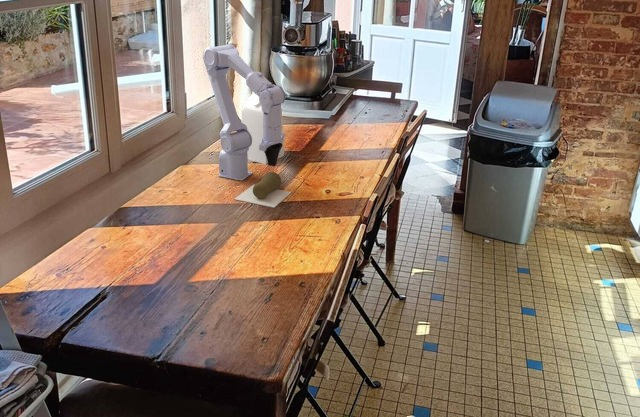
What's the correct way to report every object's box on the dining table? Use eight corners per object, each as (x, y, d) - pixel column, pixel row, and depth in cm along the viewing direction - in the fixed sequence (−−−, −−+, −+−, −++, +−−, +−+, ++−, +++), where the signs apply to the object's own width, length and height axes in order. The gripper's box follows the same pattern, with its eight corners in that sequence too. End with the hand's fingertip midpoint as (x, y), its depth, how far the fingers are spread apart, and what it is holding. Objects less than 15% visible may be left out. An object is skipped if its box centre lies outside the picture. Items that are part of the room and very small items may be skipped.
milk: (284, 155, 234) (284, 87, 223) (265, 164, 225) (265, 94, 214) (258, 149, 240) (258, 82, 229) (239, 157, 231) (238, 88, 220)
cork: (282, 189, 203) (268, 201, 194) (266, 188, 206) (251, 201, 196) (279, 171, 201) (265, 184, 192) (263, 171, 203) (248, 183, 194)
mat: (234, 199, 196) (234, 198, 195) (253, 185, 207) (253, 184, 206) (274, 207, 191) (274, 207, 191) (291, 192, 202) (291, 191, 202)
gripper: (273, 133, 188) (273, 174, 193) (293, 120, 200) (292, 160, 206) (252, 130, 190) (253, 171, 196) (273, 117, 202) (273, 156, 208)
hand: (272, 165), depth 201 cm, fingers closed
